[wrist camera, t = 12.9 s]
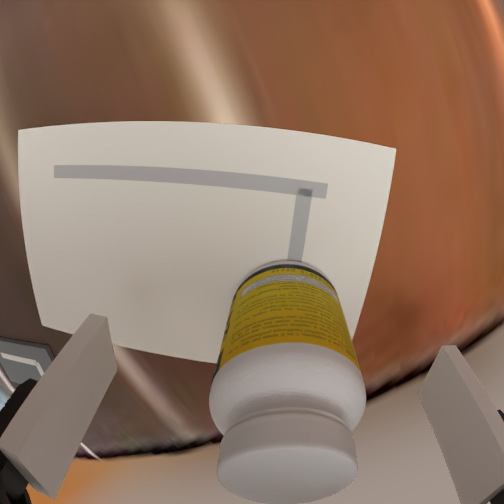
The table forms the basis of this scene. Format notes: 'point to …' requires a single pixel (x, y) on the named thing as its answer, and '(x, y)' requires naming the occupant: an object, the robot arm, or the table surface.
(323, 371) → the supplement bottle
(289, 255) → the paper pad
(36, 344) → the grey rectangular plate
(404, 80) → the table surface
